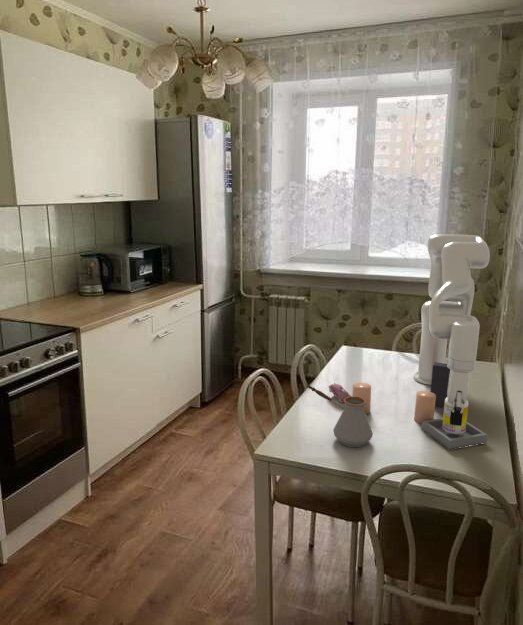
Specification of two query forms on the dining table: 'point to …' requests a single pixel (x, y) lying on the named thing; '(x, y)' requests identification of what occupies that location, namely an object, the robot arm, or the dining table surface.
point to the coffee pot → (350, 421)
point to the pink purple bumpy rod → (338, 391)
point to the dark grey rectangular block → (440, 382)
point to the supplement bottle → (446, 418)
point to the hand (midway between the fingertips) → (454, 418)
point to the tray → (453, 440)
